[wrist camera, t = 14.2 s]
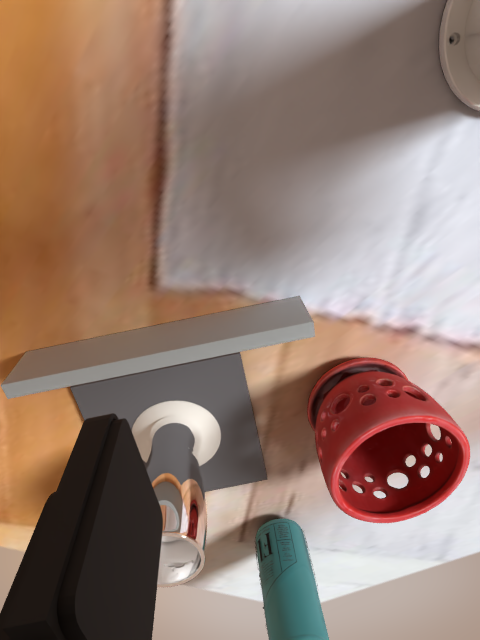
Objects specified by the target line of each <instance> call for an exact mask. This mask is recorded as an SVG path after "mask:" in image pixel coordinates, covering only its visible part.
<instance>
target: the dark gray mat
mask: <svg viewBox="0 0 480 640" xmlns="http://www.w3.org/2000/svg"><path fill="white" fill-rule="evenodd" d="M70 388H71V391H72V393H73V395H74V398H75V400H76V402H77V404H78V407H79V409H80V411H81V414H82V416H83V418H84V421H85V420H86V419H88V418H92V417H97V416H102V415H107V414H112V413H114V414H116V415H117V417H118V419H123V418H125V419H126V420H127V421H128V423H129V426H130V428H131V431H132V434H133V436H134V439H135V441H136V444H137V447H138V449H139V452H140V455H141V457H142V460H143V462H144V465H145V466H146V463H147V459H148V442H147V438H148V432H149V430H150V428H151V427H152V425H153V424H154V423H156V422H157V421H158V420H160V419H162V418H165V417H169V416H181V417H185V418H188V419H190V420H192V421H193V422H195V423H196V424H197V425H198V426H199V428H200V430H201V432H202V445H201V449H200V452H199V468H200V472H201V477H202V481H203V486H204V490H205V492H207V491H212V490H217V489H222V488H227V487H232V486H237V485H242V484H247V483H252V482H257V481H262V480H267V474H266V470H265V465H264V460H263V456H262V451H261V447H260V442H259V437H258V433H257V428H256V424H255V419H254V414H253V410H252V405H251V401H250V396H249V391H248V387H247V382H246V378H245V373H244V369H243V364H242V359H241V355H240V352H236V353H231V354H227V355H222V356H217V357H212V358H207V359H202V360H197V361H192V362H187V363H182V364H177V365H172V366H167V367H163V368H158V369H153V370H148V371H143V372H138V373H133V374H128V375H123V376H118V377H113V378H108V379H103V380H99V381H94V382H89V383H84V384H79V385H74V386H71V387H70Z"/></svg>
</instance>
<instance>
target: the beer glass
mask: <svg viewBox="0 0 480 640" xmlns="http://www.w3.org/2000/svg"><path fill="white" fill-rule="evenodd" d="M147 442H148V459H147V463H146V466H145V468H146V470H147V473H148V476H149V478H150V481H151V484H152V486H153V489H154V491H155V494H156V497H157V499H158V502H159V505H160V507H161V511H162V516H163V531H162V541H161V551H160V561H159V571H158V581H157V587H172V586H176V585H180V584H183V583H186V582H188V581H190V580H192V579H193V578H194V577H196V576H197V575H198V574H199V573H200V571H201V570H202V568H203V566H204V563H205V547H206V535H207V503H206V496H205V490H204V486H203V481H202V477H201V472H200V468H199V452H200V449H201V445H202V432H201V430H200V428H199V426H198V425H197V424H196V423H195V422H193V421H192V420H190V419H188V418H185V417H181V416H169V417H165V418H162V419H160V420H158V421H157V422H156V423H154V424H153V425H152V427H151V428H150V430H149V432H148V438H147Z"/></svg>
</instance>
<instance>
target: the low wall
mask: <svg viewBox="0 0 480 640" xmlns="http://www.w3.org/2000/svg"><path fill="white" fill-rule="evenodd" d="M310 337H315V331H314V323H313V320H312V318H311V316H310V315H309V313H308V311H307V309H306V307H305V305H304V303H303V301H302V300H301V298H300V296H296V297H292V298H287V299H282V300H277V301H272V302H267V303H262V304H257V305H252V306H248V307H243V308H238V309H233V310H228V311H223V312H218V313H213V314H208V315H203V316H199V317H194V318H189V319H184V320H179V321H174V322H169V323H164V324H159V325H155V326H150V327H145V328H140V329H135V330H130V331H125V332H120V333H115V334H110V335H106V336H101V337H96V338H91V339H86V340H81V341H76V342H71V343H66V344H62V345H57V346H52V347H47V348H42V349H37V350H32V351H27V352H25V354H24V355H23V356H22V358H21V359H20V360H19V362H18V363H17V364H16V366H15V367H14V368H13V370H12V371H11V372H10V374H9V375H8V376H7V377H6V379H5V380H4V381H3V383H2V384H1V387H2V389H3V391H4V393H5V395H6V397H7V398H8V399H10V398H15V397H20V396H25V395H30V394H35V393H39V392H44V391H49V390H54V389H59V388H64V387H69V386H74V385H79V384H84V383H89V382H94V381H99V380H103V379H108V378H113V377H118V376H123V375H128V374H133V373H138V372H143V371H148V370H153V369H158V368H163V367H167V366H172V365H177V364H182V363H187V362H192V361H197V360H202V359H207V358H212V357H217V356H222V355H227V354H231V353H236V352H241V351H246V350H251V349H256V348H261V347H266V346H271V345H276V344H281V343H286V342H291V341H296V340H300V339H305V338H310Z"/></svg>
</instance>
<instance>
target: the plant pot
mask: <svg viewBox="0 0 480 640" xmlns="http://www.w3.org/2000/svg"><path fill="white" fill-rule="evenodd" d="M307 413H308V419H309V422H310V425H311V427H312V428H313V430H314V431H315V440H316V449H317V454H318V457H319V461H320V466H321V469H322V473H323V476H324V479H325V482H326V485H327V488H328V490H329V492H330V495H331V497H332V499H333V501H334V502H335V504H336V505H337V506H338V507H339V508H340V509H341V510H342V511H343V512H345V513H346V514H348V515H349V516H351V517H353V518H356V519H358V520H362V521H367V522H373V523H392V522H398V521H403V520H407V519H410V518H413V517H416V516H419V515H421V514H423V513H425V512H427V511H429V510H431V509H432V508H434V507H436V506H437V505H439V504H440V503H441V502H443V501H444V500H445V499H446V498H447V497H448V496H449V495H450V494H451V493H452V492H453V491H454V490H455V489H456V488H457V486H458V485H459V484H460V482H461V481H462V479H463V477H464V475H465V473H466V471H467V468H468V465H469V459H470V446H469V443H468V440H467V438H466V436H465V434H464V433H463V431H462V430H461V429H460V427H459V426H458V425H457V424H456V422H455V421H454V420H453V419H452V417H451V416H450V415H449V414H448V413H447V412H446V411H445V410H444V409H443V408H442V407H441V406H440V405H439V404H438V403H437V402H436V401H435V400H434V399H433V398H432V397H431V396H430V395H429V394H427V393H426V392H425V391H423V390H422V389H421V388H419V387H418V386H416V385H415V384H413V383H411V382H410V381H408V379H407V377H406V376H405V374H404V373H403V372H402V371H401V370H400V369H399V368H398V367H397V366H395V365H393V364H392V363H390V362H387V361H385V360H381V359H376V358H358V359H353V360H349V361H346V362H344V363H341V364H339V365H337V366H335V367H334V368H332V369H330V370H329V371H328V372H327V373H325V374H324V375H323V376H322V377H321V378H320V379H319V381H318V382H317V383H316V385H315V386H314V388H313V390H312V392H311V395H310V397H309V401H308V407H307ZM430 424H433V425H437V426H439V428H440V431H441V438H440V440H437V439H435V438H434V436H433V435H432V433H431V429H430ZM450 439H451V441H450ZM451 442H452V443H451ZM428 444H429V445H430V446H431V447H432V453H431V455H430V456H429V457H427V456H426V454H425V447H426V445H428ZM440 453H442V455H443V460H442V462H440V460H439V455H440ZM410 455H413V456H415V458H416V463H415V464H414V465H413V466H412V467H408V466H407V465H406V463H405V461H406V458H407V457H408V456H410ZM424 466H428V467H429V468H430V473H429V475H428V476H427V477H426V478H422V477H421V475H420V471H421V469H422V467H424ZM340 472H342V473H343V474H344V475H345V476H346V478H344V477H343V476H342V475H341V473H340ZM397 472H399V473H403V474H405V475H406V476H407V477H408V480H409V481H408V484H407V486H405V487H404V488H401V489H397V488H394V487H391V486H389V484H388V483H387V478H388V476H389V475H391V474H393V473H397ZM365 477H370V478H372V479H373V482H367V481H366V480H365ZM352 485H357V486H359V487H360V488H361V489H362V491H363V493H358V492H356V491H355V490H354V489H353V487H352ZM339 486H340V487H341V488H342V489H341V488H340V487H339ZM374 491H382V492H384V493H385V494H386V497H385V498H382V499H380V498H377V497H375V496H374V494H373V492H374Z"/></svg>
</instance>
